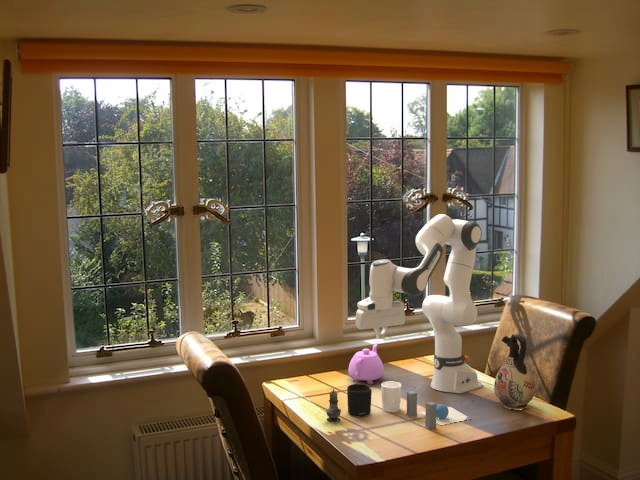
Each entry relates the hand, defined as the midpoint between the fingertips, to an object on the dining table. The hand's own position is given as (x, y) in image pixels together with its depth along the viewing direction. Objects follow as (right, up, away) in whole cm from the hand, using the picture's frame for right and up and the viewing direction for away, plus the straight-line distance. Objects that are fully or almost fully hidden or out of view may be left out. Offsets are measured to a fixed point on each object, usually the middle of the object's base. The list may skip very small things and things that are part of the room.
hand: (380, 338), depth 264 cm
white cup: (+5, -29, +6) cm, 30 cm away
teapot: (-2, -24, +42) cm, 49 cm away
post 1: (+12, -29, 0) cm, 32 cm away
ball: (+22, -27, -4) cm, 35 cm away
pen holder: (-8, -29, +2) cm, 31 cm away
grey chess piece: (-18, -30, -5) cm, 36 cm away
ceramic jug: (+53, -29, +7) cm, 61 cm away
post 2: (+17, -31, -12) cm, 37 cm away
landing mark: (+24, -30, -1) cm, 38 cm away
